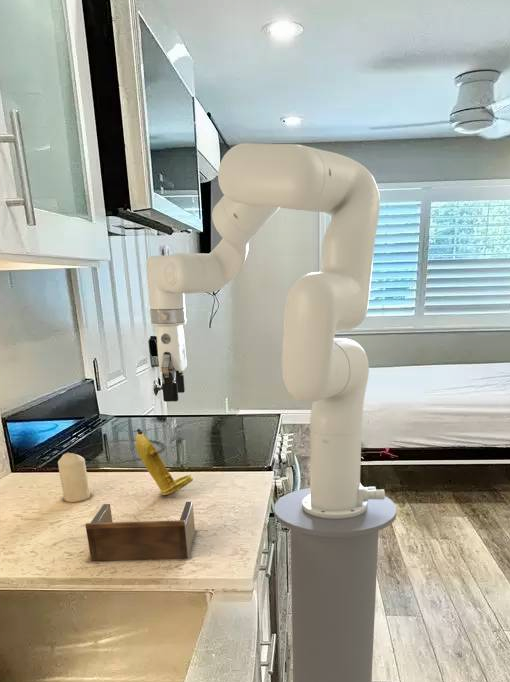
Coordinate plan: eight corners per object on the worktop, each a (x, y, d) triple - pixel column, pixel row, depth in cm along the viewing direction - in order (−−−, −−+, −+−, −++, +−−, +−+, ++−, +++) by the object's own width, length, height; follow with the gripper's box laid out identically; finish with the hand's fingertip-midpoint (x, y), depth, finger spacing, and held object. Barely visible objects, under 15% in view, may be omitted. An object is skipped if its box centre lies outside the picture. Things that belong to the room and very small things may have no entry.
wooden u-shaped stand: (195, 531, 107) (192, 497, 104) (187, 558, 97) (184, 521, 94) (107, 533, 107) (102, 500, 104) (91, 561, 97) (85, 524, 94)
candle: (95, 495, 126) (89, 452, 123) (76, 503, 122) (68, 459, 118) (78, 491, 129) (71, 449, 125) (58, 499, 125) (50, 455, 121)
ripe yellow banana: (138, 502, 122) (129, 434, 116) (145, 489, 129) (138, 424, 124) (191, 500, 122) (185, 432, 116) (196, 487, 129) (190, 422, 124)
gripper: (179, 320, 115) (185, 404, 122) (190, 314, 131) (195, 389, 138) (142, 321, 115) (150, 405, 122) (158, 315, 131) (164, 389, 138)
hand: (174, 396), depth 130 cm, fingers open, 9 cm apart
